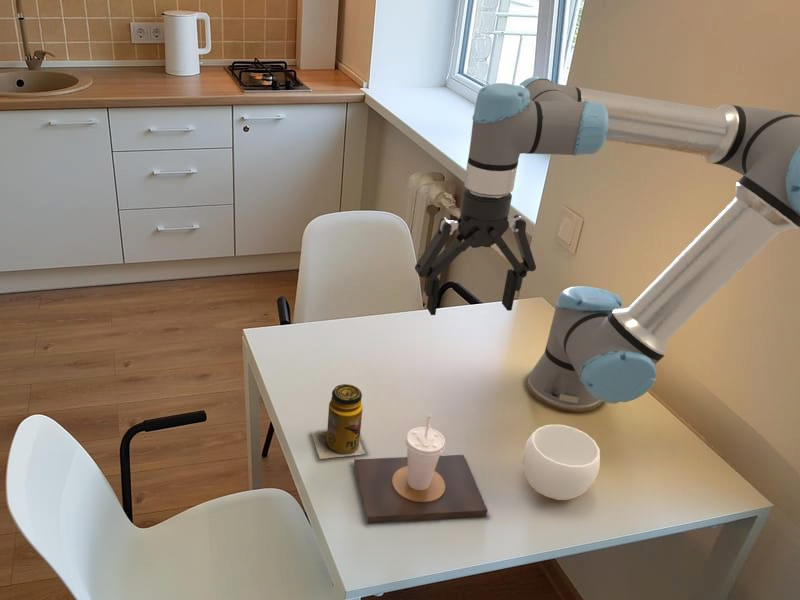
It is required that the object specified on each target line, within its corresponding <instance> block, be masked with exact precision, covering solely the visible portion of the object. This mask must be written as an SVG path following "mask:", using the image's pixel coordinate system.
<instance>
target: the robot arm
mask: <svg viewBox="0 0 800 600" xmlns="http://www.w3.org/2000/svg"><path fill="white" fill-rule="evenodd" d="M605 142H612V143H616V144H617V143H618V144H624V145H630V146H631V145H632V146H637V147H642V148H643V147H644V148H649V149H657V150H663V151H668V152H674V153H675V152H677V153H681V154H688V155H689V154H690V155H696V156H700V158H701V159H702V161H704V162H705V163H707V164H711V165H718V166H722V167H725V168H728V169H730V170H732V171H734V172H736V173H738V174H740V175H742V177H741V178H740V179H739V180H738V181H737V182H736V183H735V197H734V199H733V200H732V201H731V202H730V203H729V204H728V205H727V206H726V207H725V208H724V209H723V210H722V211H721V213H719V214H718V215H717V216H716V217H715V219H714V220H712V222H710V223H709V225H707V226H706V228H704V230H703V231H701V233H700V234H699V235H697V236H696V238H695V239H694V240H693V241H691V243H690V244H689V245H688V246H687V247H686V248H685V249H683V251H682V252H681V253H680V254H679V255H678V256H677V257H676V258H675V259H674V260H673V261H672V262H671V263H670V264H669V266H667V267H666V268H665V269H664V270H663V272H662V273H661V274H660V275H659V276H658V277H656V279H655V280H653V282H652V283H651V284H650V285H649V286H648V287H647V288H646V289H645V290H644V291H643V292H642V293H641V294H640V295H639V296H638V297H637V298H636V299H635V300H634V301H633V302H632V303H631V304H630V305H629V306H628V307H625V308H623V299H622V298H621V297H620V296H619V295H618V294H616V293H614V292H612V291H609V290H607V289H603V288H599V287H593V286H586V285H585V286H584V285H582V286H579V285H578V286H571V287H567V288H565V289H564V290H562V291H561V292H560V294H559V296H558V299H557V302H556V304H555V309H554V312H553V317H552V321H551V326H550V329H549V333H548V337H547V342H546V346H545V348H544V349H545V350H544V351H543V354H542V355H541V357H540V358H539V359H538V361H536V364H535V365H534V366H533V368H531V371H530V372H529V375H528V379H527V388H528V390H529V392H530V394H531V395H532V396H533V397H534V398H535V399H537V400H538V401H539V402H540V403H541V404H544V405H546V406H548V407H550V408H552V409H556V410H560V411H562V412H569V413H586V412H591V411H593V410H595V409H597V408H598V407H600V406H601V405H602V402H604V403H608V404H618V403H628V402H631V401H634V400H636V399H638V398H640V397H642V396H643V395H645V394H646V393H647V392H649V390H650V389H652V387H653V386H654V384H655V382H656V376H657V368H656V364H658V363H659V362H660V361H661V360H662V359H663V358H664V357H665V356H666V355H667V354H668V340H670V338H671V337H672V336H674V334H676V333H677V332H678V331H679V330H680V329H681V328H682V327H683V326H684V325H686V323H687V322H688V321H689V320H690V319H692V318H693V316H694V315H696V314H697V312H698V311H699V310H700V309H702V308H703V307H704V306H705V305H706V304H707V303H708V302H709V301H710V300H711V299H712V298H713V297H714V296H715V295H716V294H717V293H719V291H720V290H721V289H723V287H724V286H726V285H727V284H728V283H729V282H730V281H731V280H732V279H733V278H734V277H735V276H736V275H737V274H738V273H739V272H740V271H741V270H743V268H744V267H745V266H747V264H748V263H750V261H751V260H753V258H755V257H756V256H757V255H758V254H759V253H760V252H762V250H763V249H765V247H766V246H767V245H768V244H770V242H771V241H772V240H773V239H775V237H777V235H778V234H780V233H782V232H786V231H797V230H798V229H800V114H799V113H798V114H797V113H795V112H791V111H786V110H779V109H771V108H763V107H762V108H761V107H752V106H744V105H743V106H742V105H735V104H728V103H724V104H721V105H720V106H718V107H717V108H712V107H704V106H698V105H692V104H687V103H680V102H673V101H667V100H662V99H654V98H648V97H642V96H637V95H636V96H635V95H630V94H624V93H616V92H610V91H604V90H598V89H591V88H585V87H576V86H572V85H566V84H560V83H554V82H553V81H552V80H550V79H548V78H544V77H542V76H532V77H528V78H526V79H525V80H523V81H522V82H520V83H519V84H513V83H512V84H510V83H506V82H496V83H489V84H486V85H484V86H482V87H481V88H480V89H479V91H478V93H477V97H476V101H475V106H474V112H473V115H472V126H471V134H470V144H469V151H468V157H467V163H466V169H465V177H464V184H463V185H464V189H463V190H462V196H461V204H460V206H461V207H460V213H459V214H460V215H459V218H458V219H457V220H448V219H447V218H446V217H442V218H440V220H439V223H438V227H437V231H436V232H435V234H434V235H433V237H432V238H431V240H430V241H429V243H428V245H427V247H426V248H425V250H424V252H423V253H422V255H421V256H420V258H419V260H418V261H417V262H416V264H415V266H414V271H416V273H417V275H418V276H419V278H424V282H423V283H424V284H423V292H424V294H425V296H426V297H427V301H426V309H427V310H428V313H429V314H430V316H436V313H437V305H438V300H439V299H438V298H439V291H440V283H441V280H440V278H439V276H440V274H441V273H443V271H445V270H446V268H448V266H449V265H450V264H451V263H452V262H453V261H454V260H455V259H456V258H457V257H459V255H461V253H463V252H465V251H466V250H467V249H468V248H470V247H471V248H472V249H476V248H480V247H482V248H491V246H493V245H496V247H497V248H498V249H499V250H500V252H501V254H502V255H503V256H504V257H505V259H506V260H507V261H508V264H510V266H511V267H512V269H507V271H506V272H507V273H506V277H505V283H504V287H503V288H504V289H503V294H502V300H501V304H502V305H503V308H505V310H506V311H513V305H514V301H515V295H516V292H520V290H521V287H522V283H523V278H526V277H527V275H528V272H534V271H536V269H537V266H536V262H535V259H534V256H533V253H532V249H531V247H530V243H529V240H528V238H527V234H526V230H527V229H526V228H527V222H526V220H525V219H524V218H523V217H521V215H520V214H515V215H514V216H513V217H511V218H509V217H508V216H509V214H510V209H511V204H512V198H513V195H512V192H513V191H514V189H515V182H516V175H517V170H518V165H519V158H520V156H521V154H526V155H561V156H563V155H564V156H573V157H576V156H581V155H582V156H583V155H584V156H585V155H595V154H596V153H598V152H599V151H600V150H601V148H602V147H603V146H604V144H605ZM508 229H510V231H512V232H513V235H514V239H515V242H516V244H517V248H518V252H519V254H520V257H521V260H522V262H520V261H519V260H518V258H517V257H516V256H515V254H514V253H513V251H512V250H511V248H510V247H509V246H508V244H507V243H506V241H505V240H504V238H503V237H502V236H503V235H504V234H505V233H506V232H507V230H508ZM455 231H458V233H457V234H456V235H455V236H453V238H452V241H451V242H450V243H449V244H447V242H448V241H449V238H450V236H452V235H453V234H454V233H455ZM446 244H447V246H445V245H446ZM444 247H445V248H444Z"/></svg>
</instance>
